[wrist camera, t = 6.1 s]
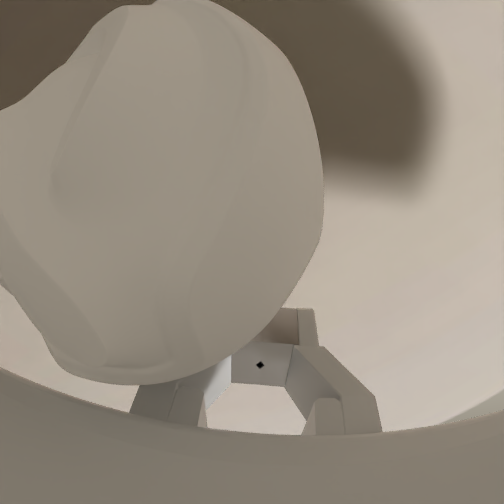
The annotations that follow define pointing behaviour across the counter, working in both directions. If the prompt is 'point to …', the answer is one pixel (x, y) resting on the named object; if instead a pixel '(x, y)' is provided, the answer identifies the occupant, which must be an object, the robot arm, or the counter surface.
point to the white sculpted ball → (159, 193)
